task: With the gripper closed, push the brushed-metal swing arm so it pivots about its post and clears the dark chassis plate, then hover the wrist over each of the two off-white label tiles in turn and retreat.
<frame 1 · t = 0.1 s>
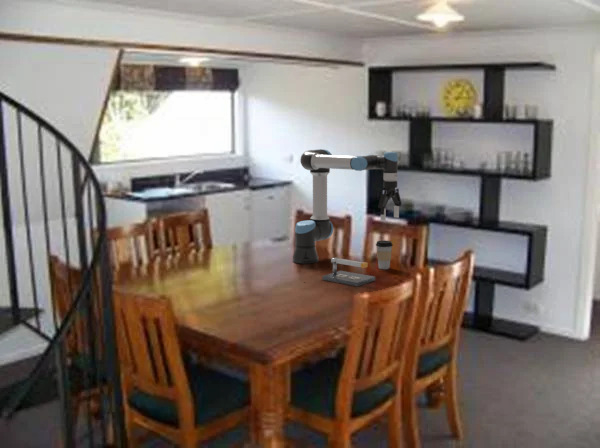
hand: (389, 219, 364), 28 cm above the table, fingers open, 13 cm apart
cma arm: (348, 262, 341), point 9 cm above the table, hinge at 0.0°
chassis: (348, 280, 343), on the table
coffee cup: (383, 268, 370), on the table
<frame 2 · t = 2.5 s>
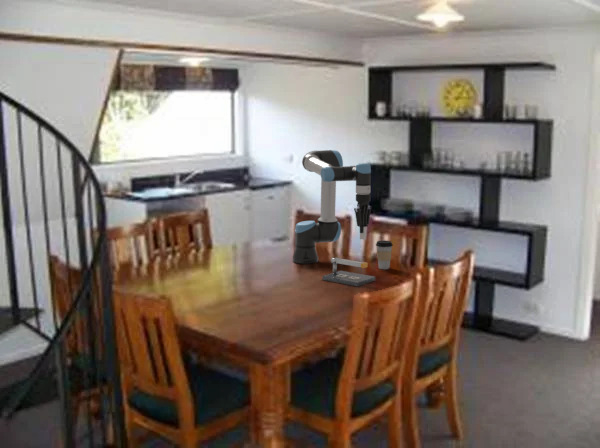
hand: (362, 239, 342), 21 cm above the table, fingers closed
nothing on the table moved.
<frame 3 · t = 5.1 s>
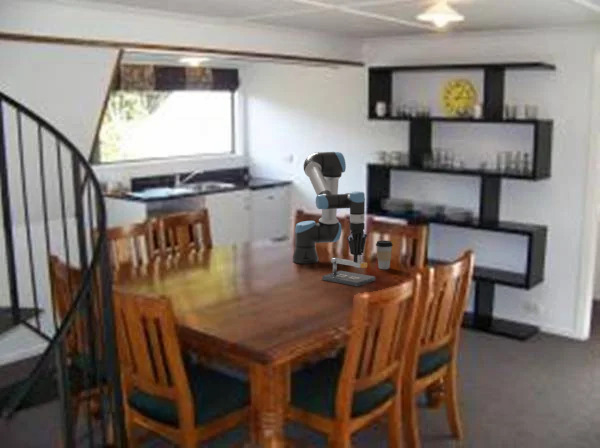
hand: (357, 267, 341), 7 cm above the table, fingers closed
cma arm: (348, 262, 341), point 9 cm above the table, hinge at -0.7°, touching gripper
everything else where it was.
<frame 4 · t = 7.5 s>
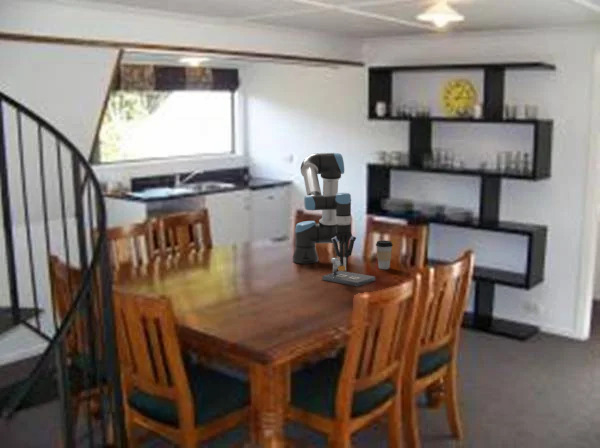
hand: (343, 269, 335), 7 cm above the table, fingers closed
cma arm: (337, 263, 338), point 9 cm above the table, hinge at -43.0°, touching gripper
everything else where it was.
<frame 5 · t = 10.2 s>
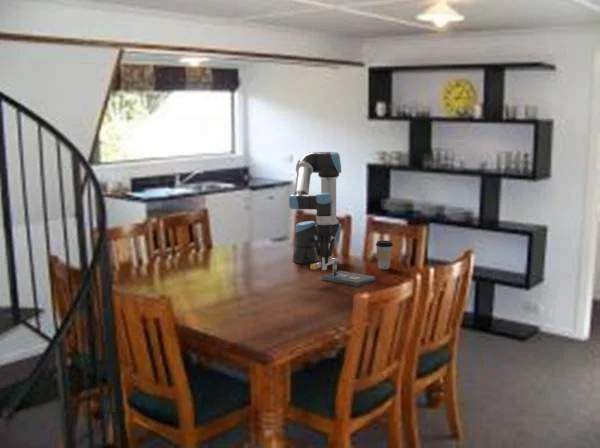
hand: (324, 269, 336), 7 cm above the table, fingers closed
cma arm: (325, 263, 340), point 9 cm above the table, hinge at -87.8°, touching gripper
everything else where it was.
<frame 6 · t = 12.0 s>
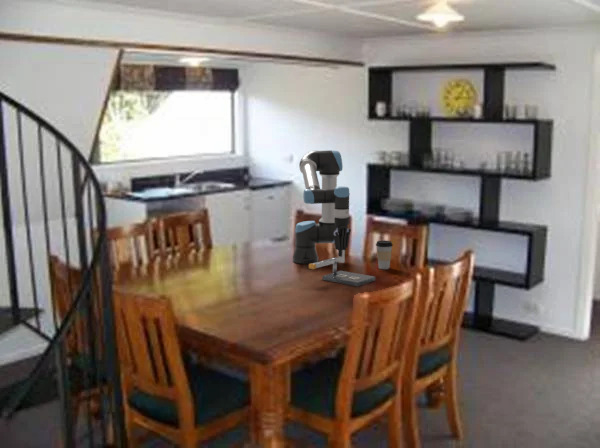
hand: (341, 262, 342), 9 cm above the table, fingers closed
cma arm: (324, 263, 340), point 9 cm above the table, hinge at -90.9°
everything else where it was.
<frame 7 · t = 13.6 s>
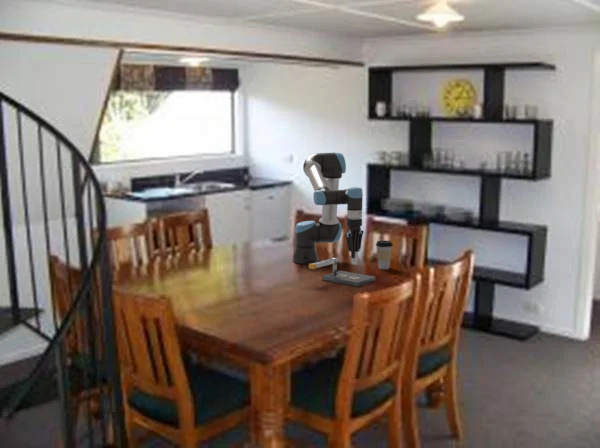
hand: (354, 264, 337), 10 cm above the table, fingers closed
nothing on the table moved.
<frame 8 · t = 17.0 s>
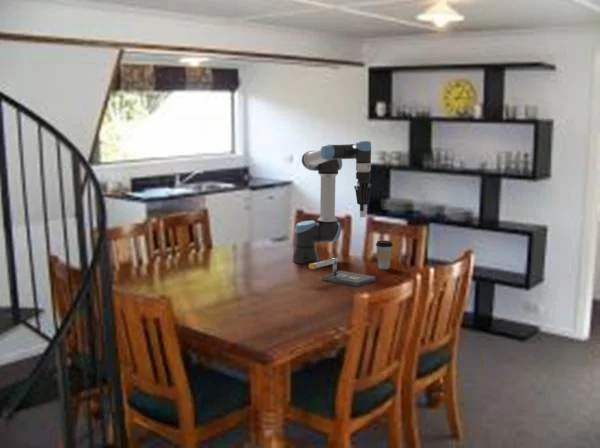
hand: (362, 217, 342), 32 cm above the table, fingers closed
nothing on the table moved.
at the end: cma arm at -91° (first picture: +0°) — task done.
